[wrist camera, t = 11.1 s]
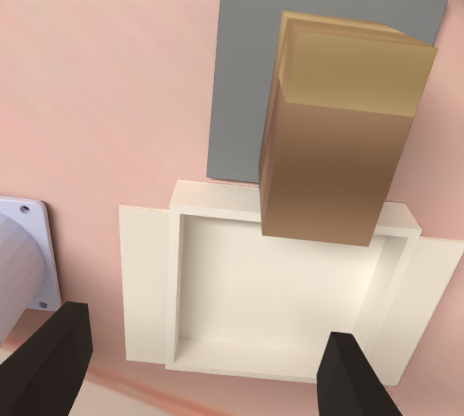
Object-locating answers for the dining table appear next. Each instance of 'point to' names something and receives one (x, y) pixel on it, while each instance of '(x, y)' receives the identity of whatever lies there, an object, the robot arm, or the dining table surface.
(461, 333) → the dining table surface
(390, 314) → the white tray
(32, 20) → the dining table surface
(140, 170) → the dining table surface
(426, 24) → the mat
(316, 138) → the walnut block
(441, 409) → the dining table surface
